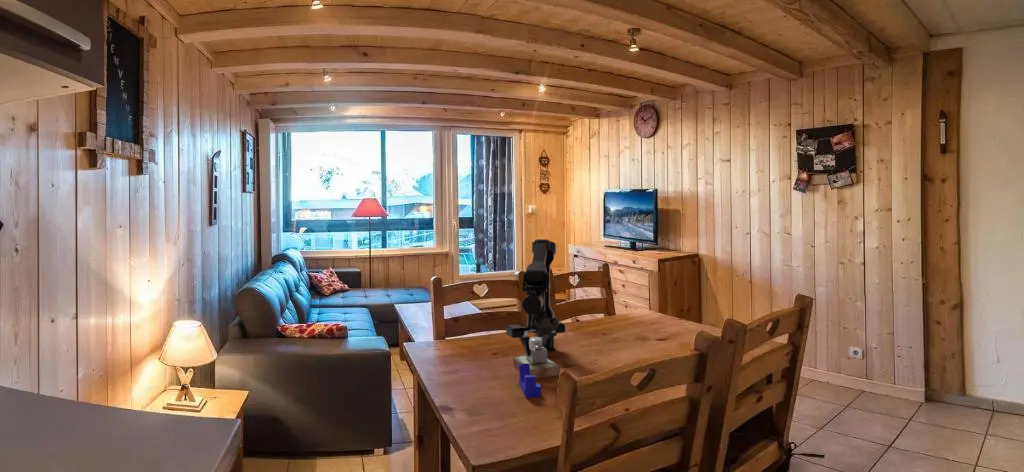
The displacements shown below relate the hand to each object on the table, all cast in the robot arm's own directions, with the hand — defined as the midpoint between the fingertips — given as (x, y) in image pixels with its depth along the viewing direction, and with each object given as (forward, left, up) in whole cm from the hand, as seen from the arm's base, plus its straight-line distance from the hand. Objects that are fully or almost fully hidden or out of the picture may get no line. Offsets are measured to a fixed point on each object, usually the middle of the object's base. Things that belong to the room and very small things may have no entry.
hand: (536, 355), depth 172 cm
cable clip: (+9, +15, -5) cm, 18 cm away
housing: (0, 0, -1) cm, 1 cm away
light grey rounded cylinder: (-5, -11, -5) cm, 13 cm away
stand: (0, 0, -5) cm, 5 cm away
